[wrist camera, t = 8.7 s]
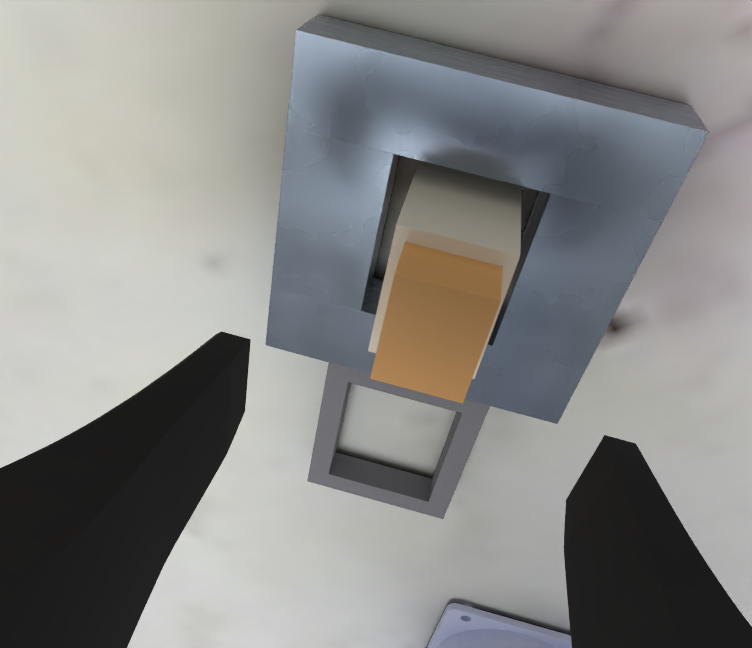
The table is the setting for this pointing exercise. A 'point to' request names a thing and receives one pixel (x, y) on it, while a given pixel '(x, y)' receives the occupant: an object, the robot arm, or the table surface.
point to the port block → (480, 157)
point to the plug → (445, 280)
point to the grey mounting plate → (383, 479)
